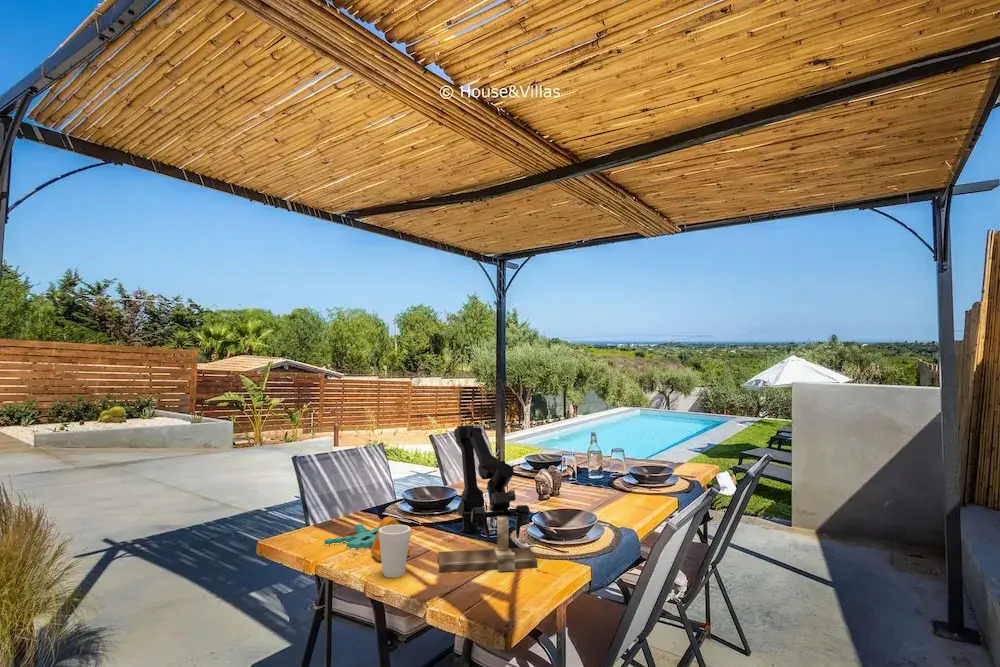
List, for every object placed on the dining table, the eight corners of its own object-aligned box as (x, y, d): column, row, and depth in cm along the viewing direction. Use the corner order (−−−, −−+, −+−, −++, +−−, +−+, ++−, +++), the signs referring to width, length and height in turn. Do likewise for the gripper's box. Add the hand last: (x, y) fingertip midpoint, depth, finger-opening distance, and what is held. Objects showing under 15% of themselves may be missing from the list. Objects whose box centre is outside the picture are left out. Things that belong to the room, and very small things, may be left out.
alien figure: (324, 546, 183) (375, 553, 176) (324, 540, 183) (375, 546, 176) (358, 530, 202) (404, 535, 195) (358, 524, 202) (404, 529, 195)
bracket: (378, 564, 166) (379, 524, 167) (371, 556, 172) (371, 519, 173) (410, 557, 172) (411, 519, 173) (402, 550, 178) (403, 514, 179)
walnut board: (439, 572, 159) (439, 565, 159) (438, 558, 171) (438, 551, 171) (537, 567, 164) (537, 560, 164) (529, 553, 175) (529, 547, 176)
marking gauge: (498, 571, 160) (498, 524, 160) (494, 559, 170) (494, 515, 170) (514, 570, 160) (515, 524, 161) (509, 558, 170) (509, 515, 171)
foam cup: (371, 575, 157) (372, 530, 158) (393, 565, 165) (394, 522, 165) (394, 582, 152) (395, 536, 153) (416, 572, 159) (417, 528, 160)
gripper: (472, 482, 172) (477, 527, 160) (528, 480, 175) (537, 524, 164) (468, 501, 179) (473, 545, 167) (522, 498, 183) (530, 541, 171)
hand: (503, 538), depth 167 cm, fingers open, 9 cm apart
